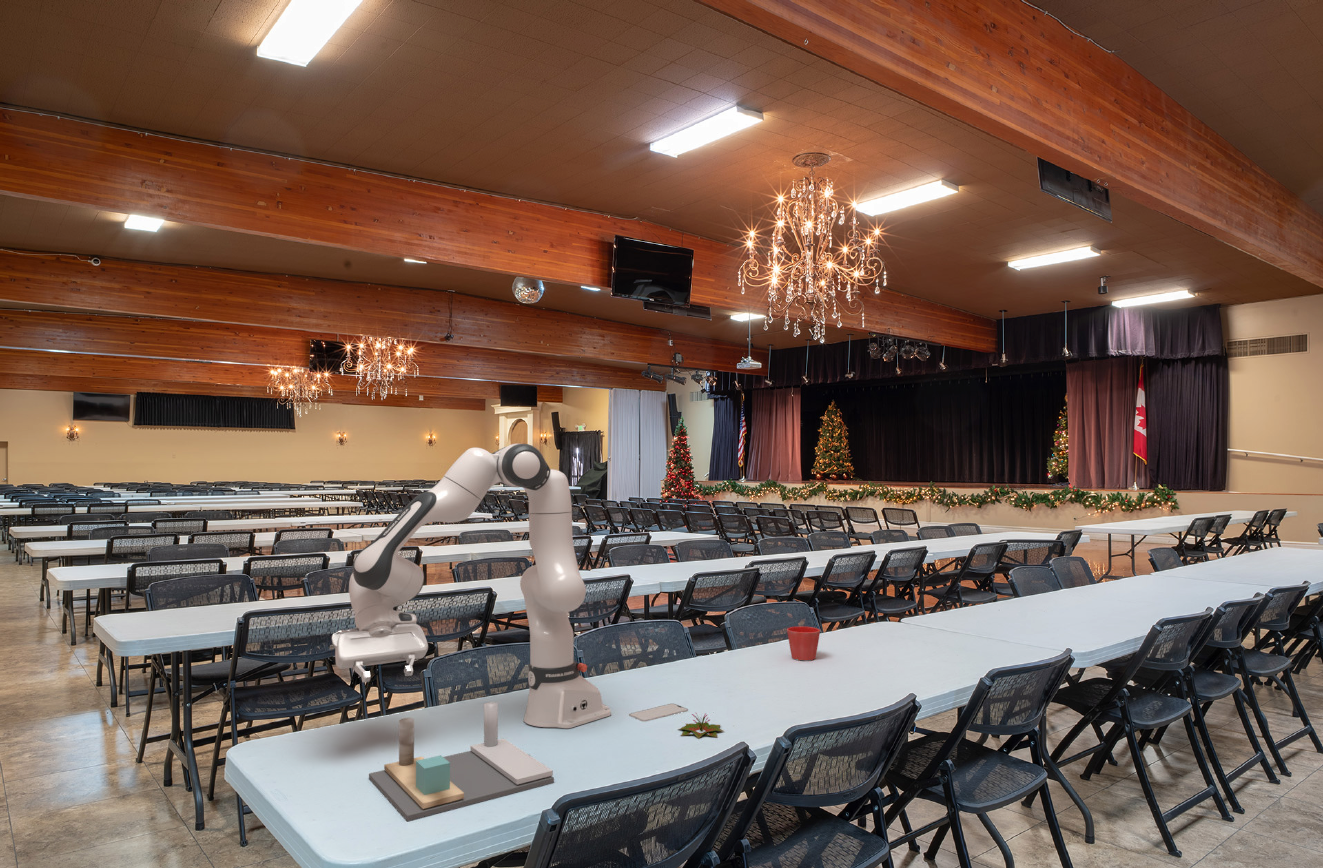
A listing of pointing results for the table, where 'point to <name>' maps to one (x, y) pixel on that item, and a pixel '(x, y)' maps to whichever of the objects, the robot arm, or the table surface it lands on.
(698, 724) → the lily flower
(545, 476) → the robot arm
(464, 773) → the lane mat
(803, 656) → the flower pot
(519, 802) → the table surface
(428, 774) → the teal block
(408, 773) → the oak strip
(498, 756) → the pale board with post
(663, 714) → the smartphone
